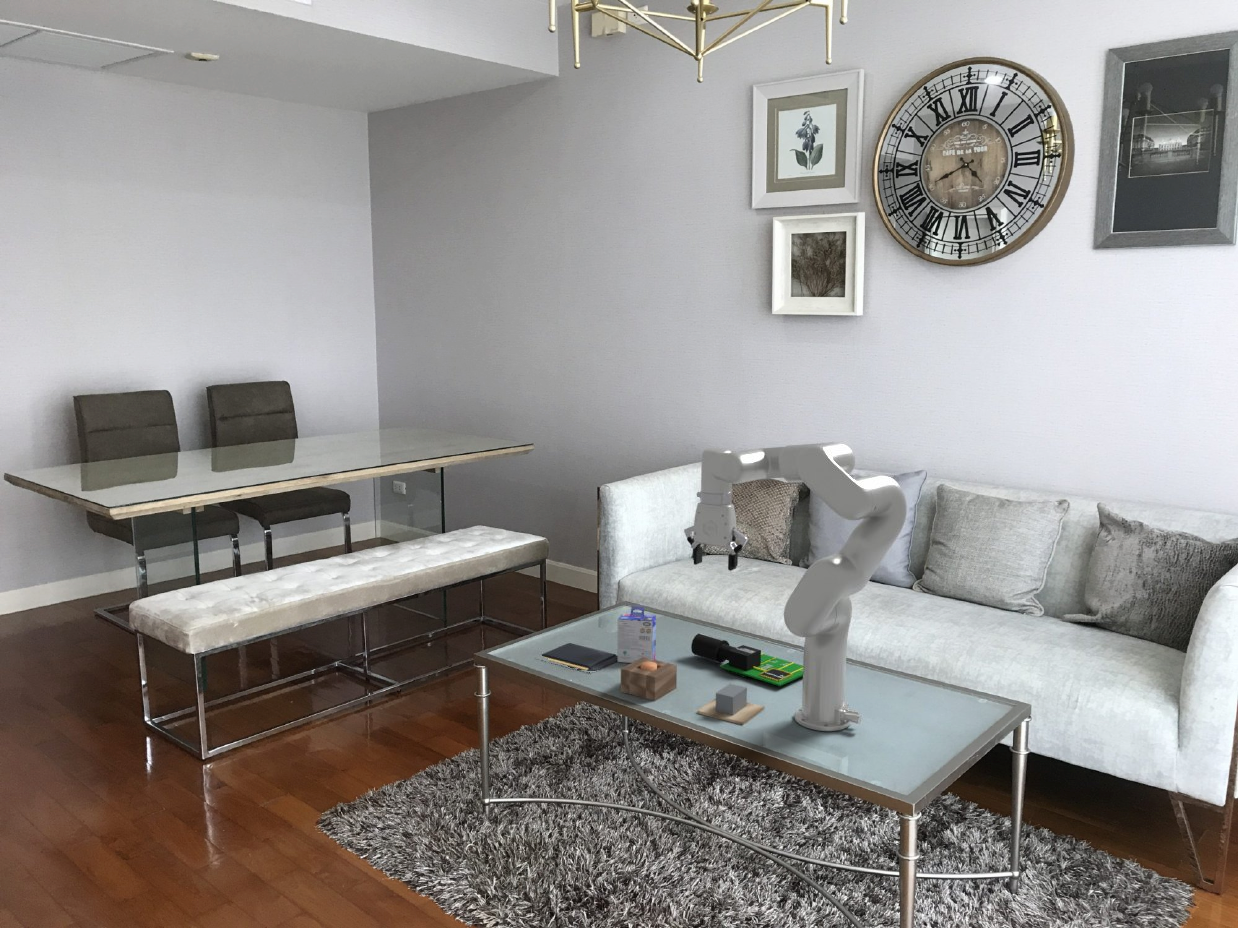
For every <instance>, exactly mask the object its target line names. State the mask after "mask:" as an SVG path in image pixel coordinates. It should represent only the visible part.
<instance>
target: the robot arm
mask: <svg viewBox="0 0 1238 928" xmlns="http://www.w3.org/2000/svg"><path fill="white" fill-rule="evenodd" d="M700 465H701V468H700V469H701V474H700V478H701V479H700V482H701V483H700V485H701V486H700V491H697V492H696V497H697V498H700V499H699V500H700V502H698V503H697V505H696V509H695V515H694V521H693V525H692V526H689V527H687V528H685V529H684V530H683V532H684V535H685V537H686V541H687V542H688V543H689V545H690V548H691V549H692V560H693V565H699V564H701V563H703V546H702V545H708V546H713V547H720V548H721V547H722V548H725V547H726V549H727V550H728V552H729V554H728V558H727V559H728V561H727V563H728V564H727V565H728V566H727V569H728V571H731V572H732V571H734V570H736V569H737V567H738V562H739V561H738V559H739V553H740V552H742V551H743V549H744V548H745V547H746V544H747V543H748V541H749V538H748V537H747V535H745V534H744V533H742V532H741V531H739V530H738V528H737V518H736V510H735V506H734V504H732V498H733V497H732V495H733V494H732V493H733V484H737V485H738V484H742V483H743V484H744V483H748V482H752V481H756V480H757V481H759V480H764V479H765V480H767V479H784V480H785V481H786V482H788V483H804V485H806V487H807V488H808V489H809V490H810V491H811V492H813V493H814V495H815V496H817V497H818V498H819V499H820V501H822V502H823V503H824V504H825V505H826V506H827V507H829V509H830V510H831V511H833V512H834V513H835V514H836V515H837V516H839V517H841V518H842V519H844V520H848V521H860V520H861V521H860V523H859V524H857V526H856V527H855V528H854V529H853V530H852V532H851V533H850V535H849V537H848V538H847V539H846V541H845V543H844V544H843V545H842V547H841V548H840V549H839V550H838V551H837V552H835V553H833V554H830V555H828V556H825V557H822V558H820V559H817V560H815V562H813V563H812V564H811V565H810V566H809V567H808V568H807V569H806V571H805V572H804V574H803V575H802V577H801V579H800V580H799V582H798V583H797V585H796V586H795V587H794V589H793V591H792V593H791V594H790V596H789V597H788V599H787V601H786V602H785V606H784V610H783V620H784V623H785V626H786V628H787V629H788V631H789V632H790V633H791V634H793V635H795V636H796V637H799V638H804V642H803V658H802V659H803V664H802V666H803V676H802V692H801V693H802V695H801V696H802V698H801V700H802V701H801V707H800V708H798V709H797V710H795V713H794V719H795V721H796V722H797V724H799V725H801V726H802V727H805V728H808V729H810V730H815V731H821V732H835V731H842V730H844V729H846V728H848V727H849V726H850V725H851V724H852V723H853V724H858V725H860V724H861V722H862V715H861V713H860V711H858V710H852V709H850V708H849V704H850V703H849V702H848V701H845V700H846V699H845V697H846V674H847V673H846V672H847V671H846V668H847V650H848V637H849V630H850V627H851V626H850V625H851V621H852V617H853V616H852V615H853V605H852V600H851V598H850V596H853V595H855V594H857V593H859V592H861V591H862V590H863V589H864V588H865V587H866V586H867V584H869V583H868V582H869V581H870V580H871V577H872V576H873V575H874V573H875V572H876V570H877V569H878V568H879V566H880V564H881V563H882V561H883V559H884V558H885V556H886V555H887V553H888V552H889V550H890V549H891V548H892V546H893V545H894V543H895V542H896V540H897V539H898V537H899V535H900V533H902V532H901V531H902V529H903V528H904V525H905V522H906V517H907V513H908V509H907V507H908V506H907V501H906V496H905V493H904V491H903V488H902V487H901V486H900V484H899V483H898V482H897V481H896V480H895V479H893V478H892V477H890V476H886V475H883V474H876V475H875V474H873V475H866V476H863V477H858V478H852V477H851V476H850V474H851V473H852V472H853V471H854V468H855V467H856V466H855V465H856V457H855V454H854V452H853V450H852V449H851V448H850V447H849V446H848V445H846V444H844V443H841V442H820V443H818V442H817V443H807V444H791V445H790V444H789V445H785V446H776V447H760V448H753V449H751V448H750V449H746V450H745V449H744V450H739V451H732V450H730V449H728V448H723V447H711V448H709V447H708V448H706V449H704V450H702V453H701V464H700ZM737 539H738V540H739V543H738V545H737V544H736V542H737Z"/></svg>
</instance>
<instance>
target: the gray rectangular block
mask: <svg viewBox="0 0 1238 928" xmlns="http://www.w3.org/2000/svg"><path fill="white" fill-rule="evenodd" d="M747 695H748V688H747V686H742V685H741V686H740V685H737V684H732V683H729V684H727V685H726V686H724V687H723V688H721V689H720V690H718V691H717V692H715V698H716V712H720V713H724V714H728V715H732V716H733V715H735V714H736V713H737V712H739V711H740V710H741V709H743V708H744V707H746V706H747V700H748V699H747V697H748V696H747Z"/></svg>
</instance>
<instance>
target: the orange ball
mask: <svg viewBox="0 0 1238 928" xmlns="http://www.w3.org/2000/svg"><path fill="white" fill-rule="evenodd" d="M641 669H642V670H647V671H651V672H652V671H654V670H656V669H657V664H656V663H654V662H643V663H641Z"/></svg>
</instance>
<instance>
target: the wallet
mask: <svg viewBox="0 0 1238 928" xmlns="http://www.w3.org/2000/svg"><path fill="white" fill-rule="evenodd" d="M541 655H542V656H543V657H545V658H548V660H551V661H553V662H557V663H561V664H563V665H567V666H568V667H570V668H578V669H577V670H576V671H578V670H587V671H596V672H598V671H597V670H599V671H600V670H603V669H605V668H607V667H609V666H611V665H614V664H616V663H618V662H617V661H618V654H615V653H612V652H609V651H603V650H599V649H596V648H592V647H588V646H584V645H579V644H575V643H572V642H568V643H565V644H563V645H561V646H558V647H556V648H553V649H552V650H549V651H546V652H544V653H542V654H541ZM549 658H550V659H549ZM570 668H569V669H570ZM602 668H603V669H602ZM589 673H590V672H589ZM589 673H588V674H589Z"/></svg>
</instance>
